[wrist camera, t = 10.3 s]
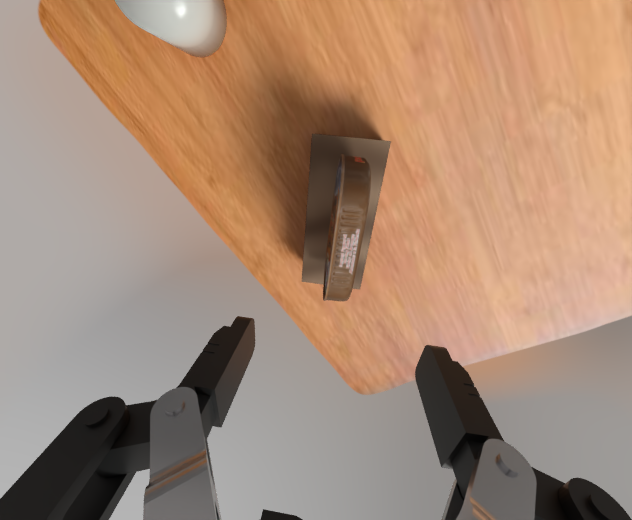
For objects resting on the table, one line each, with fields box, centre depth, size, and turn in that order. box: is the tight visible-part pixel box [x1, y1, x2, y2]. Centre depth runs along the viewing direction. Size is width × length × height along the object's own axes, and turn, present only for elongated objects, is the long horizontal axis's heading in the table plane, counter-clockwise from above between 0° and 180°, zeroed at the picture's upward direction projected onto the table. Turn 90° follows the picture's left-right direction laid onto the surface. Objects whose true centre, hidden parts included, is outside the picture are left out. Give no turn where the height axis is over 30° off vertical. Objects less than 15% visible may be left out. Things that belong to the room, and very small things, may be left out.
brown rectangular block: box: [302, 134, 391, 289], centre depth 30 cm, size 18×8×5 cm, turn 175°
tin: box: [323, 154, 371, 301], centre depth 24 cm, size 15×3×8 cm, turn 175°
